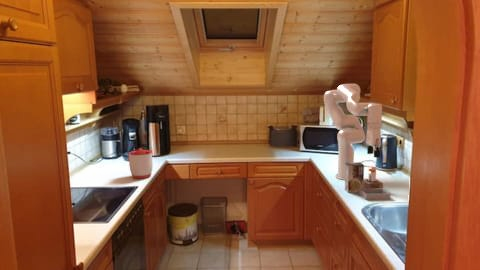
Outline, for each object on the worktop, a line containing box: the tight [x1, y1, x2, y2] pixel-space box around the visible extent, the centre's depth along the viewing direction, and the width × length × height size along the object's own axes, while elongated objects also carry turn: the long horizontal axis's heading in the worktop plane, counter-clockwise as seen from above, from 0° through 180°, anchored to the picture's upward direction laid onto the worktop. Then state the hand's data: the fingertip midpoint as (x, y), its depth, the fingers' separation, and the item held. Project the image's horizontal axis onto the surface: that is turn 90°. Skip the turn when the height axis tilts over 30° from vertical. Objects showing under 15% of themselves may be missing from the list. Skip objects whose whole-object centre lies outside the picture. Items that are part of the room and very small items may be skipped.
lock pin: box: [367, 166, 377, 183], centre depth 218 cm, size 4×4×13 cm
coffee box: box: [344, 161, 365, 194], centre depth 216 cm, size 9×6×16 cm
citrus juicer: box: [125, 147, 153, 179], centre depth 254 cm, size 16×17×20 cm
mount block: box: [363, 178, 384, 189], centre depth 219 cm, size 9×9×5 cm
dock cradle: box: [358, 187, 391, 201], centre depth 206 cm, size 10×13×3 cm
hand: (373, 155), depth 215 cm, fingers open, 9 cm apart
